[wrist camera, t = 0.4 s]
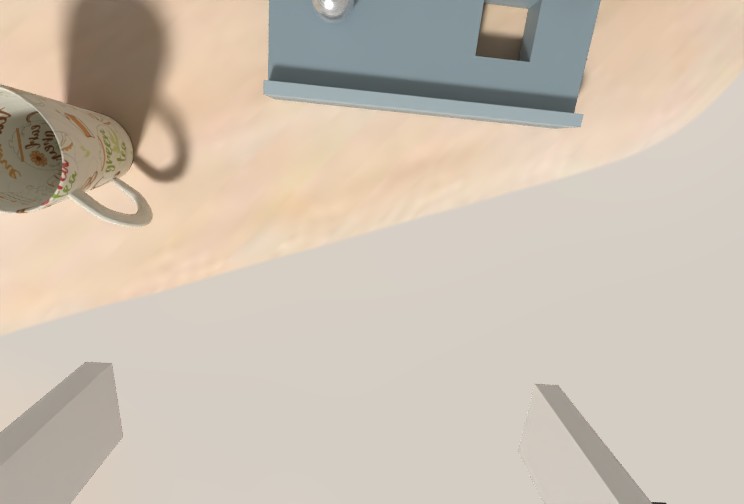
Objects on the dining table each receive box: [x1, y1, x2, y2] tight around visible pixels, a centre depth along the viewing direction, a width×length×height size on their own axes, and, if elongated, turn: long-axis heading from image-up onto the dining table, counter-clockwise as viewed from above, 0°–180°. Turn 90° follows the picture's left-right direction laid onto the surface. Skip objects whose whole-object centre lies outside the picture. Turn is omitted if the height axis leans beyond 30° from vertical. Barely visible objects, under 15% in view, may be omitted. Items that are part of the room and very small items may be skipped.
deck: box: [264, 0, 601, 128], centre depth 29 cm, size 16×26×4 cm, turn 85°
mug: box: [0, 85, 153, 227], centre depth 29 cm, size 8×13×10 cm, turn 46°
